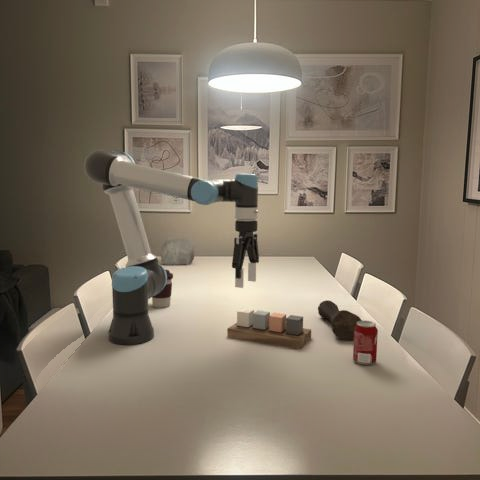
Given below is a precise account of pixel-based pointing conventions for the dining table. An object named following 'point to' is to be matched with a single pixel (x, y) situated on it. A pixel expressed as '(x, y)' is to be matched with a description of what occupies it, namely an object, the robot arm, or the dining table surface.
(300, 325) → the dark gray block
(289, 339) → the wooden block tray
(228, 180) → the robot arm
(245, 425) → the dining table surface
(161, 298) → the coffee cup
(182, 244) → the decorative stone
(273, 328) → the key terracotta
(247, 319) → the key ivory
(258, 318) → the light grey block
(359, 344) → the soda can
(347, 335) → the dark brown bone
